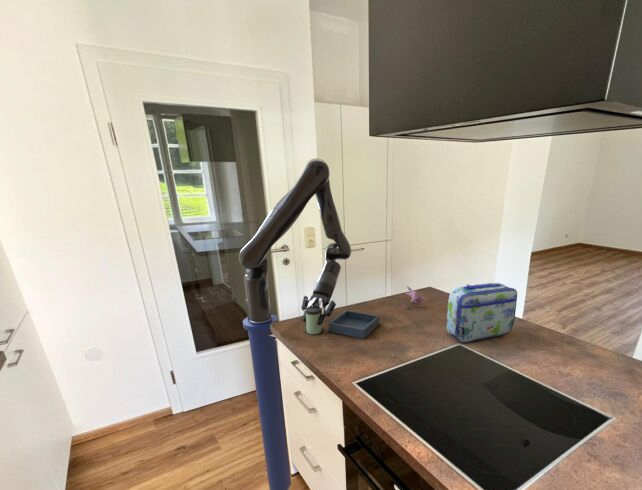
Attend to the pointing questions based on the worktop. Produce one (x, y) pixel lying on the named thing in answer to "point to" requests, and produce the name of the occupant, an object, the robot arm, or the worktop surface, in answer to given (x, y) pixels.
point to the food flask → (313, 319)
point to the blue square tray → (354, 324)
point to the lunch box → (481, 311)
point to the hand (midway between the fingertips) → (311, 322)
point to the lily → (415, 296)
